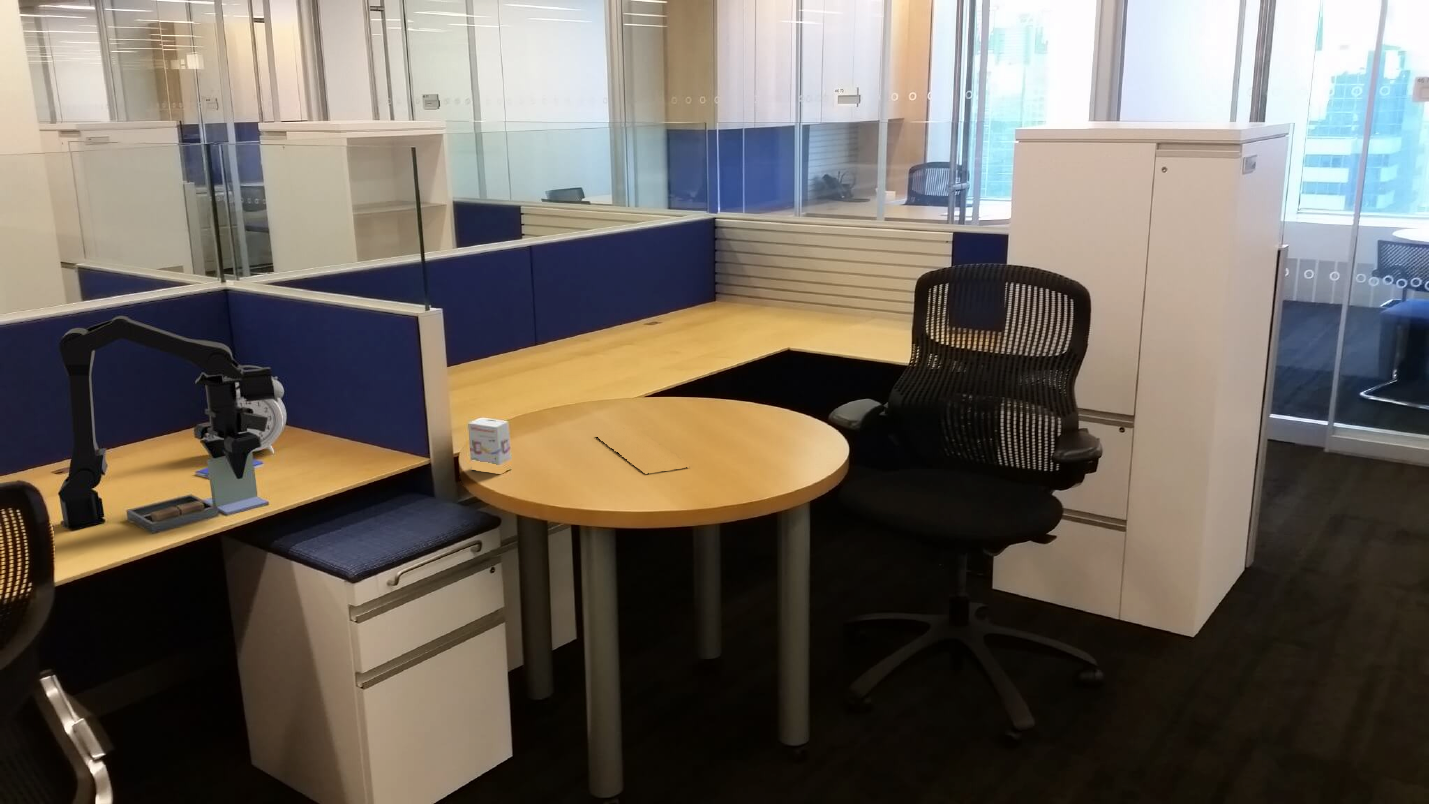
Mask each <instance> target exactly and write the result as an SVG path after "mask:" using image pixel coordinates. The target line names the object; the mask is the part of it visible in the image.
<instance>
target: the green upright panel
mask: <svg viewBox="0 0 1429 804" xmlns="http://www.w3.org/2000/svg"><path fill="white" fill-rule="evenodd" d="M253 454H254V453H253V452H250V453H249V454H248V457H247V460H246V465H245V469H244V474H243V478H241V479H237V478H236V476H235V474H234V472H233V470H232V468H231V466H230V464H229V462H228V460H227V458H226V456H223V457H219V458H214V459H212V458H211V459H207V460H206V463H207V468H208V471H209V478H208V479H209V485H210V486H209V487H210V493H211V494H210V495H211V498H212V502H213V505H214V506H216V507H218V506H222V505H226V504H230V503H234V502H237V501H241V500H245V499H249V498H253V497H259V496H258V489H257V480H256V472H255V469H254V461H253V460H254V455H253Z"/></svg>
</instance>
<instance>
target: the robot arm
mask: <svg viewBox="0 0 1429 804" xmlns="http://www.w3.org/2000/svg"><path fill="white" fill-rule="evenodd" d="M121 339H123V340H127V341H130V342H133V343H135V344H139V345H141V346H145V347H148V348H151V349H155V350H158V351H161V352H163V353H166V354H170V355H173V356H176V357H178V358H181V359H183V360H185V361H187V362H189V363H191V364H192V365H194V366H195V367H197V368H199V369H201V370H203V372H201V374H200V375H199V377H198V378H196V380H195V382H194V385H195V387H202V386H205V391H206V401H207V408H205V409H204V413H205V414H204V415H207V416H209V422H208V421H207V422H203V423H198V424H196V425H195V427H194V428H193V435H194V438H195V439H197V440H199V443H200V444H201V445H202V446H203V448H204V449H205V451H206V452H207V453H208V455H209V456H210V458H211V459H214V458H219V457H223V456H226V458H227V460H228V462H229V464H230V466H231V468H232V470H233V472H234V474H235V476H236V478H237V479H241V478H243V474H244V469H245V465H246V460H247V457H248V454H249V453H250V452H251V451H252V450H255V449H256V448H259V447H261V438H260V437H259V436H257V435H256V434H253V433H250V432H246V431H247V429H254V430H259V431H261V432H265V429H266V425H267V421H268V417H265V416H262V415H258V414H254V413H253V409H251V408H247V407H242V408H241V407H238V401H237V393H236V390H237V387H236V384H235V383H237V382H238V383H239V386H238V389H239V388H240V396H241V397H244V399H247V402H249V401H259V400H269V399H275V394H274V385H273V380H272V377H273V376H272V371H271V370H272V369H271V367H270V366H267V367H261V369H258V368H253V369H244V368H242V367H241V366H242V364H239V363H238V362H237V360H235V359H234V358H233V353H232V351H231V349H230V347H229V346H227V345H226V344H224V343H221V342H218V341H217V342H216V341H210V340H205V339H194V338H187V337H185V336H181V335H178V334H175V333H172V332H169V331H166V330H164V329H160V328H157V327H154V326H151V325H148V324H145V323H142V322H139V321H136V320H133V319H131V318H129V317H128V316H124V315H117V316H116V317H114V318H113V319H112V318H111V319H110V320H108V321H107V320H106V321H103V322H100V323H98V324H95V325H92V326H90V327H87V328H84V327H76V328H75V327H74V328H72V329H69V330H68V331H67V332H65V334H64V335H63V336H62V337H61V339H60V340H59V343H58V350H59V354H60V357H61V361H62V365H63V367H64V370H65V372H66V375H67V378H68V385H69V386H68V388H69V401H70V402H69V403H70V413H71V415H70V417H71V429H72V430H71V431H72V441H73V442H72V444H73V445H72V450H71V451H72V452H71V457H70V462H69V469H68V476H67V477H66V478H65V479H64V480H63V482H62V485H61V486H60V489H59V491H58V492H57V495H58V496H59V502H60V510H61V515H62V520H60V524H61V525H62V526H64V527H66V528H67V529H68V530H70V531H76V530H79V529H83V528H87V527H92V526H95V525H99V524H104V523H106V519H105V518H104V517H105V511H104V510H105V509H104V504H103V499H102V498H101V497H100V496H99V492H98V491H97V490H94V489H95V488H96V487H97V486H99V484H100V482H101V481H102V478H103V476H105V475H106V472H107V470H108V466H109V465H108V463H107V461H106V455H107V448H106V447H104V448H99V446H98V443H97V440H96V431H95V430H96V427H95V413H94V400H93V399H94V398H93V384H92V382H93V381H92V370H93V366H94V365H93V364H94V360H95V353H96V350H98V349H101V348H104V347H105V346H107V345H109V344H111V343H114V342H115V341H118V340H121ZM204 371H205V372H207V373H209V374H210V375H208V374H206V373H205V372H204ZM211 374H212V375H211ZM225 376H227V377H226V378H224V377H225ZM271 376H272V377H271ZM239 432H245V433H240V434H239Z"/></svg>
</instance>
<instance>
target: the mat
mask: <svg viewBox="0 0 1429 804" xmlns="http://www.w3.org/2000/svg"><path fill="white" fill-rule="evenodd" d="M203 500H204V501H206V502H208V503H210V504H212V505H213V502H212V497H210V498H205V499H203ZM269 503H270V502H269V501H268V500H266V499H264V498H262V497H259V496H257V497H253V498H249V499H245V500H241V501H237V502H234V503H230V504H226V505H222V506H218V512H220V513H222V514H223V515H225V516H230V515H234V514H237V513H242V512H245V511H249V510H253V509H256V508H260V507H265V506H268V505H269Z"/></svg>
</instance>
